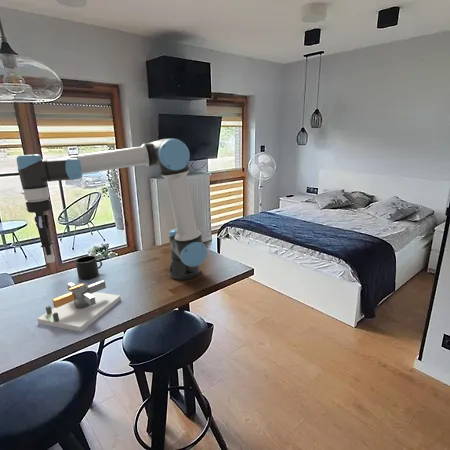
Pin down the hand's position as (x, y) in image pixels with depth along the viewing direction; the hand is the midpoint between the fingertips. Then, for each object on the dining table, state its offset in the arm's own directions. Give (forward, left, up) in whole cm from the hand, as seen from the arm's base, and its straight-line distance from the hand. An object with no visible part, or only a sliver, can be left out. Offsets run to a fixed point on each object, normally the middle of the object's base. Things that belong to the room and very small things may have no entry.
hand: (51, 261), depth 117 cm
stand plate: (-6, -4, -22) cm, 23 cm away
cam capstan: (-6, -5, -20) cm, 21 cm away
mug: (+14, -33, -23) cm, 42 cm away
